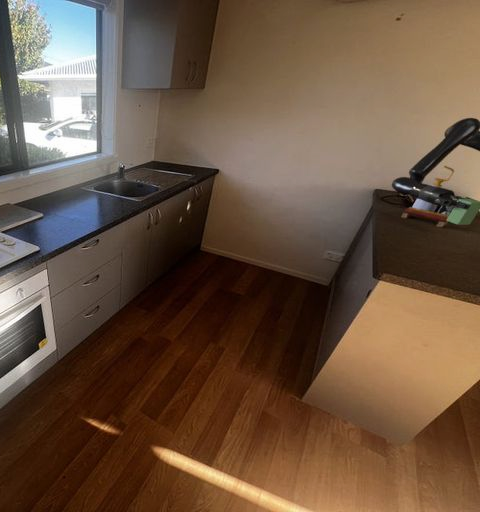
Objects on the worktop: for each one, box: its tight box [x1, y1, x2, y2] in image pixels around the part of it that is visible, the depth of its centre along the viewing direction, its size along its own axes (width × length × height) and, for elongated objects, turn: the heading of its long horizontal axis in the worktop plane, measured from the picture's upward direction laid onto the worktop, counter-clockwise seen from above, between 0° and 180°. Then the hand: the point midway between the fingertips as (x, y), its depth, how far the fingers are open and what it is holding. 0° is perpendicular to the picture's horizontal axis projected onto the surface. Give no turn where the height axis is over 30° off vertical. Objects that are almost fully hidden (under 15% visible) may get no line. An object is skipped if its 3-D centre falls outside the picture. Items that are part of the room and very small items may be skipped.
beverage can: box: [436, 205, 454, 215], centre depth 151 cm, size 7×7×12 cm
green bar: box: [446, 198, 480, 226], centre depth 125 cm, size 5×5×10 cm
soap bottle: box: [411, 165, 455, 212], centre depth 160 cm, size 9×9×25 cm
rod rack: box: [400, 206, 450, 228], centre depth 151 cm, size 16×7×5 cm, turn 28°
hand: (475, 207), depth 122 cm, fingers closed on green bar, 5 cm apart
